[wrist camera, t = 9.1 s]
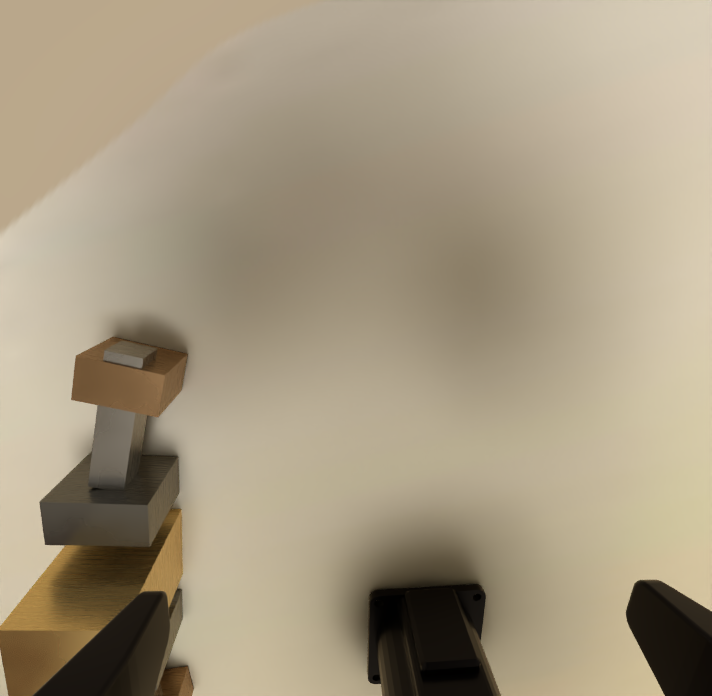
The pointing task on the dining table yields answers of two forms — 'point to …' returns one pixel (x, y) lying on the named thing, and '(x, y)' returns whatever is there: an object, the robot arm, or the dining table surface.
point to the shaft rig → (122, 465)
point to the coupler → (83, 602)
